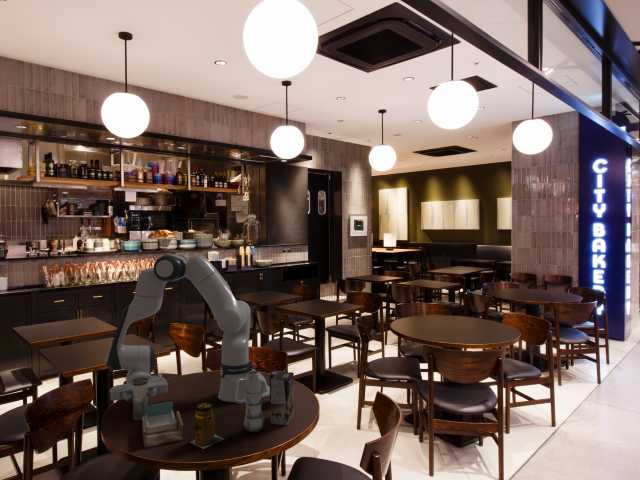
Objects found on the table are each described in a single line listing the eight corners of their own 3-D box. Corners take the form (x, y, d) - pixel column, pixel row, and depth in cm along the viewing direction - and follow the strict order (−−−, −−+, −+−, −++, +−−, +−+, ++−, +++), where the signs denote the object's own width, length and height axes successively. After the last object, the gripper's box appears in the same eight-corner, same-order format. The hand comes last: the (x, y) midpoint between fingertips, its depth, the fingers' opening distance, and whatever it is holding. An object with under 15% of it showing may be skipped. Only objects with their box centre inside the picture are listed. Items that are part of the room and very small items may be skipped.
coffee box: (287, 425, 154) (287, 380, 154) (270, 424, 155) (270, 379, 155) (294, 414, 163) (294, 372, 163) (277, 413, 164) (277, 371, 164)
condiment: (189, 442, 142) (189, 405, 142) (211, 433, 148) (211, 398, 148) (202, 449, 137) (202, 411, 137) (224, 439, 144) (224, 403, 143)
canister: (147, 413, 164) (147, 376, 164) (148, 418, 160) (148, 380, 160) (132, 416, 162) (132, 378, 162) (133, 421, 158) (132, 383, 157)
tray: (172, 416, 161) (172, 401, 161) (176, 430, 150) (176, 414, 150) (144, 420, 157) (144, 405, 157) (146, 435, 146) (146, 419, 146)
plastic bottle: (255, 436, 146) (254, 376, 145) (240, 431, 149) (239, 373, 149) (267, 428, 151) (267, 371, 151) (252, 424, 155) (252, 368, 155)
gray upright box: (283, 406, 171) (283, 375, 171) (266, 404, 173) (266, 374, 173) (289, 399, 178) (289, 370, 177) (273, 398, 180) (273, 369, 179)
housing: (178, 424, 155) (178, 410, 155) (183, 440, 143) (183, 424, 143) (142, 431, 150) (142, 416, 150) (144, 447, 138) (144, 432, 138)
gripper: (109, 380, 168) (109, 392, 156) (165, 373, 177) (169, 384, 164) (109, 397, 168) (109, 410, 156) (165, 388, 177) (169, 400, 164)
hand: (140, 396), depth 160 cm, fingers open, 7 cm apart
